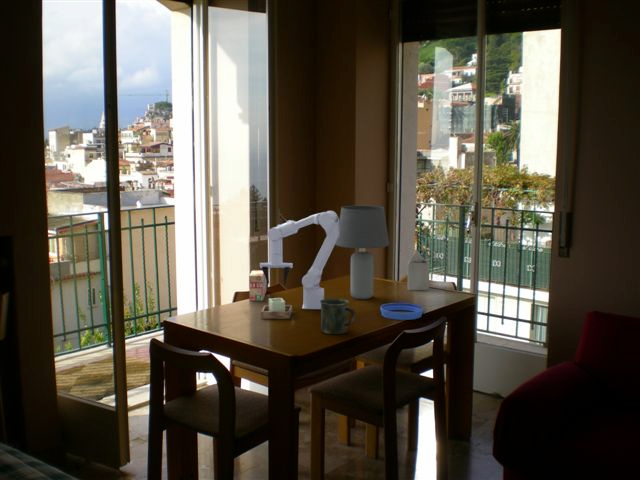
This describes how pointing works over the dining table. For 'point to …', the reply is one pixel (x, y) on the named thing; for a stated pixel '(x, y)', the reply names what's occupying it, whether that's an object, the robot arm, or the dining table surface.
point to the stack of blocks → (257, 286)
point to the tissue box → (418, 273)
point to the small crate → (276, 305)
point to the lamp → (362, 243)
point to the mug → (335, 315)
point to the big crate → (276, 313)
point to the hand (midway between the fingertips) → (276, 283)
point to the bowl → (401, 311)
